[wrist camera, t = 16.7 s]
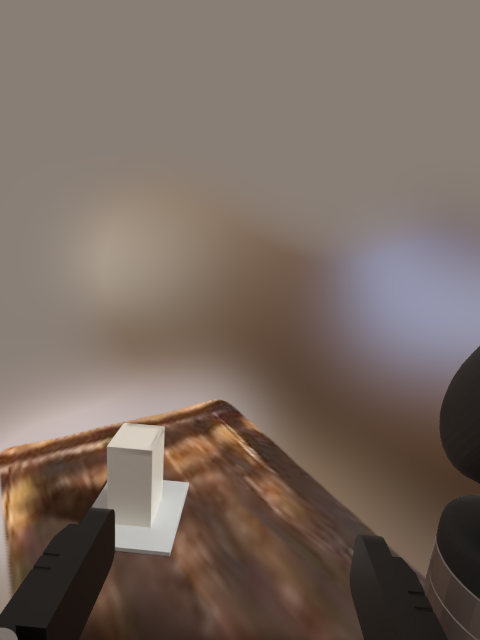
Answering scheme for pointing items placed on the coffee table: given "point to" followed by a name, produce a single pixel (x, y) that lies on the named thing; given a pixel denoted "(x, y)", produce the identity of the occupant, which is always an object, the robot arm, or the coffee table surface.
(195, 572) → the coffee table surface
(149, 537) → the grey mat
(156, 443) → the cream box
